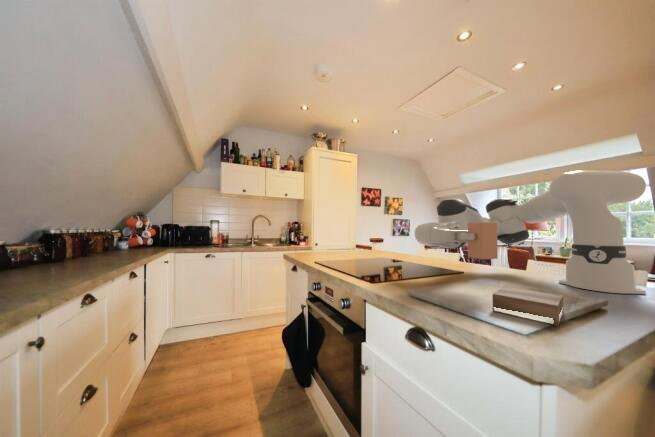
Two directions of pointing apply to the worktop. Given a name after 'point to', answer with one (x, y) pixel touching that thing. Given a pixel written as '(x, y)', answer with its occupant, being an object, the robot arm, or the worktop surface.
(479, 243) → the terracotta block
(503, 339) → the worktop surface
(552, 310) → the walnut base
